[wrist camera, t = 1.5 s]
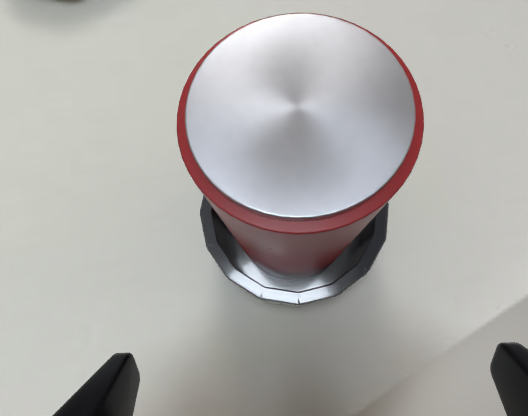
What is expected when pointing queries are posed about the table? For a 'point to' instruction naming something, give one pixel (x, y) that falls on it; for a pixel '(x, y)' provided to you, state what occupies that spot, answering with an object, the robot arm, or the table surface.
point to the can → (299, 136)
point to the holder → (300, 290)
